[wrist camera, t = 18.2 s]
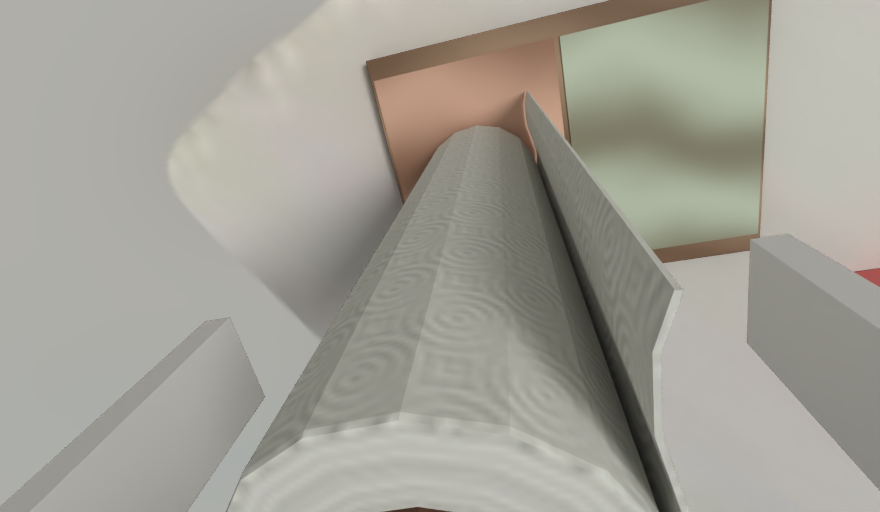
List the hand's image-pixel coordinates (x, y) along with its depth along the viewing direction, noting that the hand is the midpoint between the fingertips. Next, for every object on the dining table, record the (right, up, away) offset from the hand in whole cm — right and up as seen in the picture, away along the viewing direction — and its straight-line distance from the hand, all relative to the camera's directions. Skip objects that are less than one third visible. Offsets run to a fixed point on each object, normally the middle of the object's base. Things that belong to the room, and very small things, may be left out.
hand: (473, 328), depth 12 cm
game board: (+6, +7, +13) cm, 16 cm away
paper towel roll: (+2, +6, +13) cm, 15 cm away
